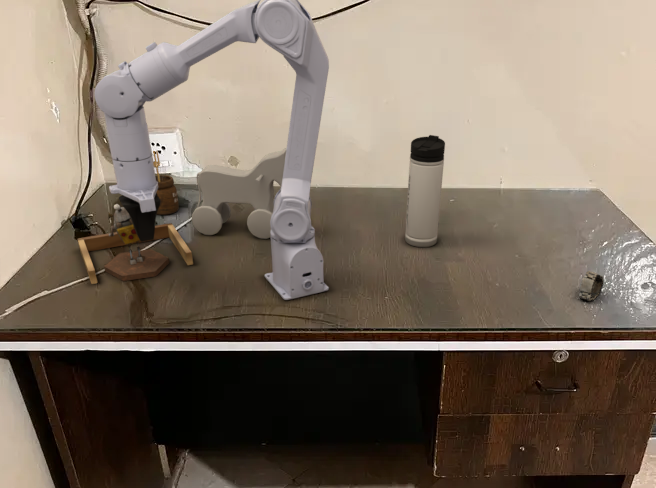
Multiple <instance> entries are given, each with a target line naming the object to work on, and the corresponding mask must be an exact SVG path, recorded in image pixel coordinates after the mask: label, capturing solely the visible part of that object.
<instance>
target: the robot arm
mask: <svg viewBox="0 0 656 488" xmlns="http://www.w3.org/2000/svg"><path fill="white" fill-rule="evenodd" d="M259 39H260V40H261V41H262V42H263V43H264V44H265V45H267V46H268V47H270V48H271V49H273V50H274V51H276V52H277V53H279V54H280V55H281V56H283V58H284V59H285V61H286V62H287V63H288V64H289V66H290V67H291V68H292V70H294V72H295V82H294V89H293V96H292V105H291V112H290V118H289V119H290V120H289V126H288V127H289V128H288V134H287V141H286V143H287V144H286V148H287V149H286V156H285V164H284V171H283V179H282V186H280V188H279V189H278V191H277V192H276V193H275V195H274V198H273V200H274V209H273V214H272V216H271V220H270V226H271V231H270V236H271V237H270V251H271V252H270V253H271V269H272V272H267V273H265V274H264V278H265V280H266V281H267V282H269V284H270V285H271V286H272V288H273V289H274V290H275V291H276V292H277V294H278V295H279V296H280V297H281V298H282V299H283V300H284V301H289V300H293V299H299V298H302V297H306V296H311V295H314V294H318V293H323V292H328V291H329V289H330V287H329V286H328V285H327V284H326V283H325V282H324V275H325V274H324V256H323V254H322V253H321V251H320V250H319V248H318V246H317V243H316V231H315V230H316V229H315V228H314V226H313V225H312V220H311V219H312V218H311V216H312V205H313V204H312V203H313V202H312V198H311V194H310V193H311V185H312V178H313V171H314V166H315V158H316V154H317V153H316V152H317V147H318V139H319V134H320V127H321V120H322V114H323V108H324V101H325V95H326V88H327V82H328V75H329V69H330V61H329V60H330V59H329V57H328V54H327V52H326V49H325V47H324V44H323V43H322V40H321V38H320V36H319V33H318V31H317V28H316V26H315V24H314V21H313V19H312V16H311V14H310V12H309V11H308V9H306V8H305V6H303V4H302V3H301V1H300V0H262V1H261V0H254V1H251V2H250V3H247V4H245V5H242V6H240V7H237V8H235V9H233V10H231V11H230V12H228V13H227V14H225V15H224V16H222V17H221V18H218V19H217V20H216V21H214V22H213V23H211V24H210V25H208V26H207V27H205V28H203V29H201V30H200V31H198V33H195V34H194V35H193V36H191V37H189V38H188V39H185V40H184V41H183V42H182V43H180V44H172V43H170V42H166V41H162V42H160V43H159V44H157V43H156V41H153V42H152V43H150V44H148V45H146V46H145V50H146V51H145V52H144V53H142V54H141V55H139V56H138V57H135V58H134V59H133V60H131V61H129V62H127V61H126V60H124V61H122V62H121V63H119V64H118V65H117V67H118V70H115V71H113V72H111V73H109V74H107V75H104V76H103V78H101V79H100V80H99V81H98V82H97V84H96V86H95V88H94V93H93V94H94V100H95V103H96V105H97V107H98V108H99V109H100V111H101V112H102V113H103V115H104V120H105V130H106V134H107V140H108V145H109V151H110V156H111V161H112V165H113V170H114V175H115V182H116V184H114V185H109V186H108V190H109V192H110V194H112V195H116V194H120V196H119V197H118V200H119V202H120V203H121V206H122V207H124V208H125V209H126V211H127V212H128V213H129V216H130V218H131V220H132V223H133V226H134V228H135V231H136V233H137V236H138V237H139V239H140V241H141V242H140V243H143V242H142V241H146V242H149V241H148V240H152V241H154V240H153V239H154V233H155V226H156V218H157V211H158V208H159V206H160V203H161V200H160V198H159V197H158V195H157V193H156V192H157V190H158V182H157V181H156V177H155V176H156V174H155V173H156V170H155V167H154V164H153V162H154V157H153V151H152V147H151V145H152V144H151V139H150V133H149V127H148V122H147V118H146V112H145V106H144V105H145V103H146V102H152V101H154V100H156V99H158V98H159V97H161V96H163V95H165V94H166V93H169V92H170V91H171V90H173V89H175V88H176V87H178V86H180V85H182V84H183V83H186V82H187V81H188V79H189V76H190V69H191V67H192V66H193V65H195V64H197V63H199V62H201V61H203V60H205V59H206V58H209V57H210V56H212V55H214V54H217V53H218V52H220V51H221V50H223V49H225V48H227V47H228V46H230V45H232V44H234V43H237V42H241V43H248V44H257V42H258V41H259ZM152 157H153V158H152Z"/></svg>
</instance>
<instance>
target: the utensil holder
mask: <svg viewBox="0 0 656 488" xmlns="http://www.w3.org/2000/svg"><path fill="white" fill-rule="evenodd" d="M152 155H153V156H152V158H153V160H154V161H153V164H154V168H155V177H156V181H157V182H158V190H157V192H156V193H157V195H158V197H159V198H160V200H161V203H160V206H159V208H158V211H157V214H156V216H157V215H158V216H167V215H173V214H175V213H177V212H178V211H179V208H180V205H179V203H180V202H179V197H178V196H179V195H178V190H177V187H176V186H175V180H174V178H173V176H171V175H168V174H160V171H159V170H162V169H161V166H162V167H166V165H165V164H164V163H162V161H160V156H159V151H158V150H153V151H152ZM166 169H167V168H163V172H166V171H167V170H166Z"/></svg>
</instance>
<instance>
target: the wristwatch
mask: <svg viewBox="0 0 656 488" xmlns="http://www.w3.org/2000/svg"><path fill="white" fill-rule="evenodd" d="M603 287H604V276H602V275H600V274H599V273H597V272H595V271H591V270H587V271H586V272H585V274H584V276H583V277H582V279H581V281H580V284H579V291H580V292H579V294H578V297H579V299H582V300H586V301H588V302H590V301H594V300H595V299H596V298H597V297H598V296H599V295H600V294H601V292H602V290H603Z"/></svg>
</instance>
